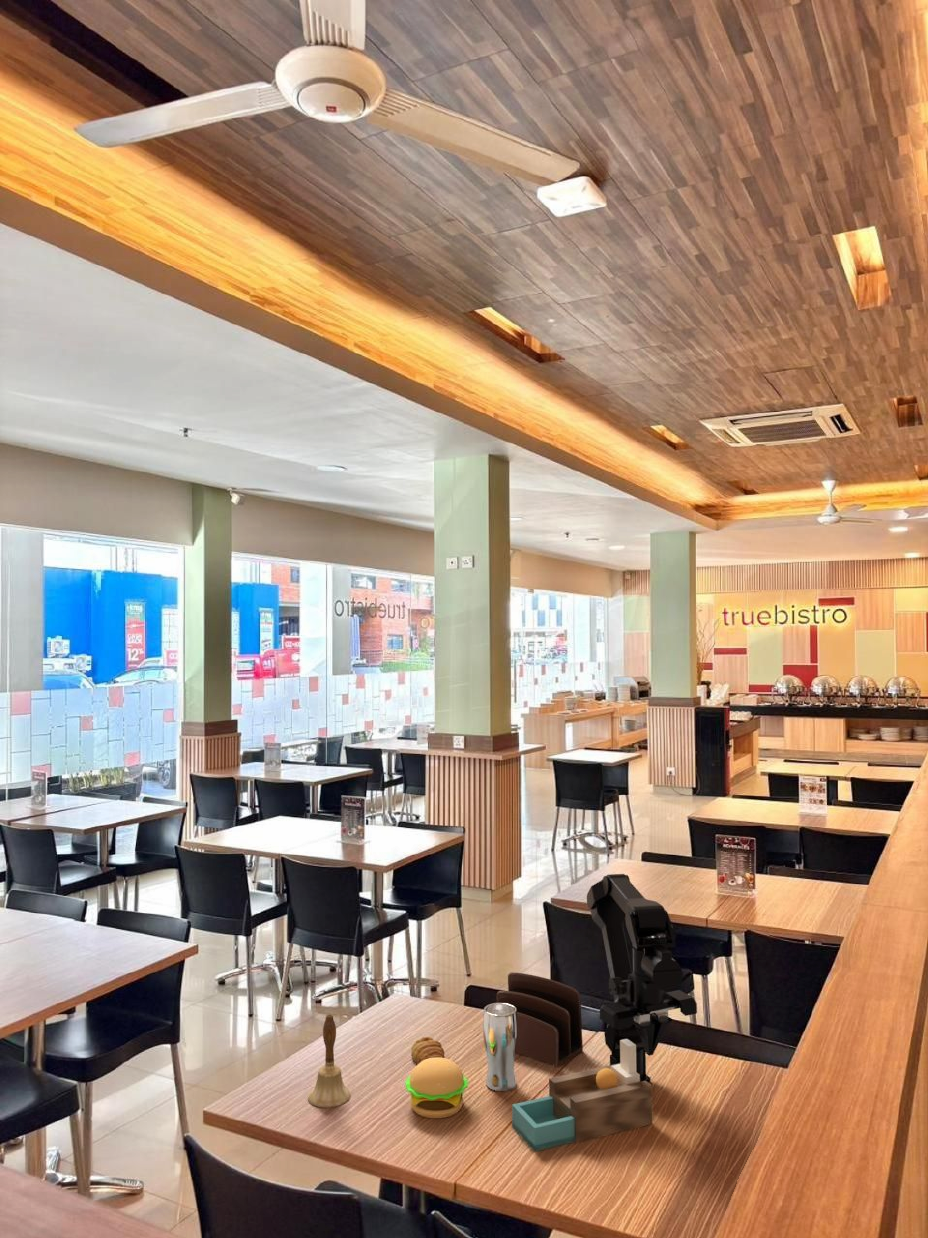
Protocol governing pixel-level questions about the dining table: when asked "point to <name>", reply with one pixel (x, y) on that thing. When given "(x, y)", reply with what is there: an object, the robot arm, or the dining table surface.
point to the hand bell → (329, 1074)
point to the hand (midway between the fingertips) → (649, 1054)
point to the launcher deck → (600, 1104)
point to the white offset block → (626, 1064)
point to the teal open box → (542, 1124)
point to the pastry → (426, 1049)
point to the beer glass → (500, 1045)
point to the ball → (606, 1079)
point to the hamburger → (436, 1088)
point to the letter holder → (545, 1017)
